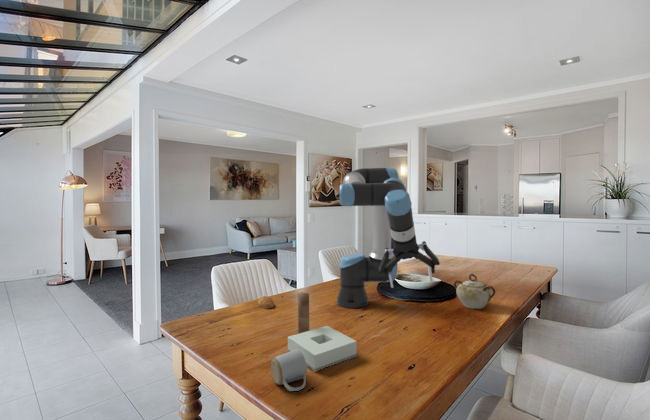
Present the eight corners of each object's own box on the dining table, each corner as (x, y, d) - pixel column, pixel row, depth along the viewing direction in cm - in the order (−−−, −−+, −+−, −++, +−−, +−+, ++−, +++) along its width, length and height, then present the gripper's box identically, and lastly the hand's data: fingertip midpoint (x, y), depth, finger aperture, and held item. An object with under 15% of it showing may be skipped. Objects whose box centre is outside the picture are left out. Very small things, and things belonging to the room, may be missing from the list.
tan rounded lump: (277, 307, 154) (277, 299, 154) (263, 310, 150) (263, 302, 150) (269, 302, 162) (269, 294, 162) (256, 305, 158) (256, 297, 158)
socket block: (287, 351, 109) (287, 336, 108) (327, 339, 118) (326, 325, 118) (314, 372, 96) (314, 355, 95) (356, 356, 105) (356, 341, 105)
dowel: (296, 337, 120) (295, 293, 119) (305, 334, 122) (305, 292, 122) (302, 341, 116) (301, 296, 116) (311, 338, 119) (311, 294, 118)
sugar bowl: (445, 304, 157) (445, 272, 156) (462, 298, 166) (462, 268, 165) (486, 315, 141) (486, 280, 140) (502, 308, 150) (503, 275, 149)
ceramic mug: (269, 378, 92) (268, 351, 92) (294, 370, 97) (294, 344, 97) (286, 398, 84) (286, 368, 83) (313, 387, 88) (313, 359, 88)
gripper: (365, 249, 105) (377, 295, 116) (446, 235, 100) (450, 284, 111) (364, 235, 111) (375, 279, 122) (440, 221, 107) (444, 269, 118)
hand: (411, 282), depth 117 cm, fingers open, 13 cm apart
